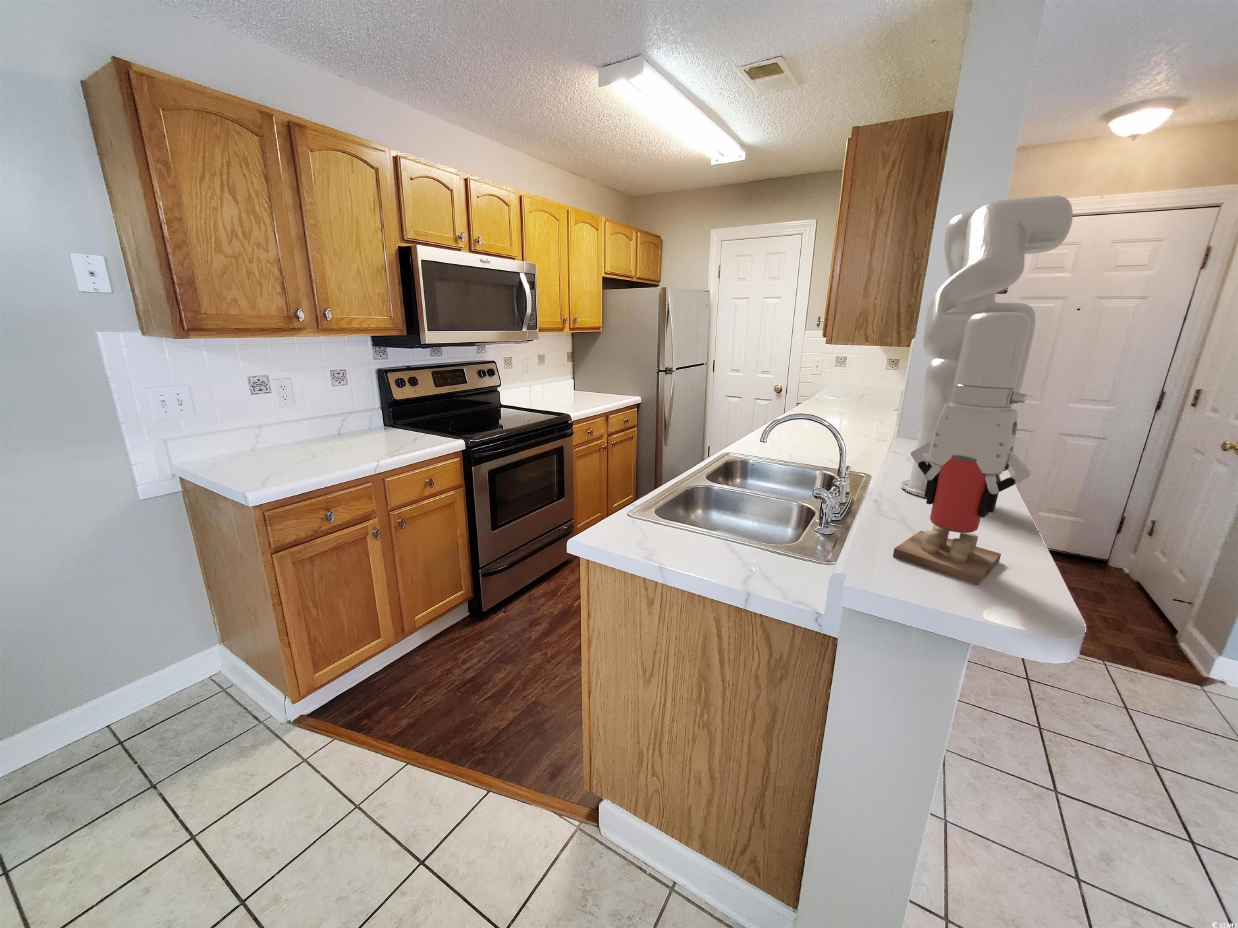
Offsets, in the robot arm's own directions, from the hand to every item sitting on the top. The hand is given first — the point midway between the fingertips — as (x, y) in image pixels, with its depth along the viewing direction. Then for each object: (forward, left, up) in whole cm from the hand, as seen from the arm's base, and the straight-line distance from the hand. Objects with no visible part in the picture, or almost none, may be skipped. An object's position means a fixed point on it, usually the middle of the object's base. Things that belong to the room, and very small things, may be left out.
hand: (956, 507), depth 78 cm
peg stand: (0, 0, -9) cm, 9 cm away
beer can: (0, 0, -3) cm, 3 cm away
